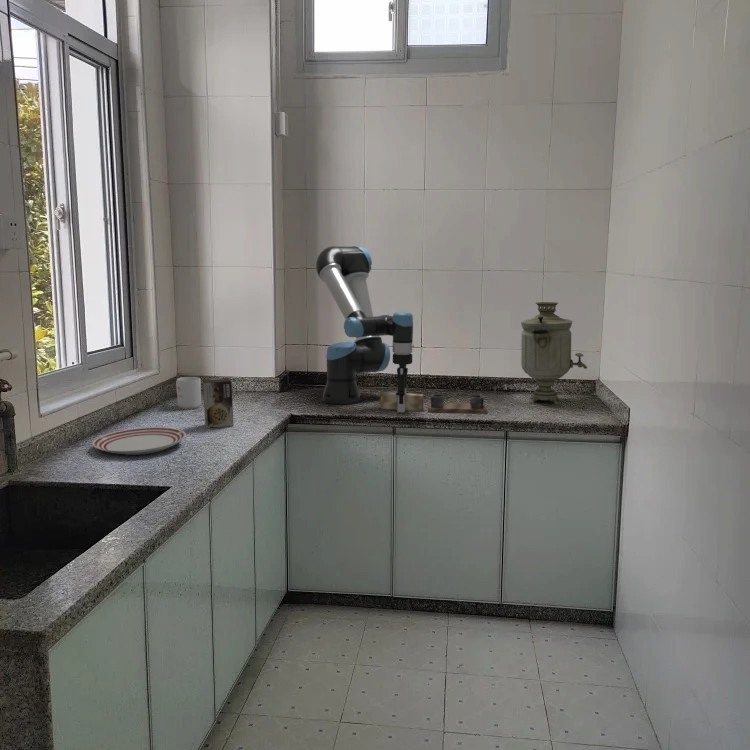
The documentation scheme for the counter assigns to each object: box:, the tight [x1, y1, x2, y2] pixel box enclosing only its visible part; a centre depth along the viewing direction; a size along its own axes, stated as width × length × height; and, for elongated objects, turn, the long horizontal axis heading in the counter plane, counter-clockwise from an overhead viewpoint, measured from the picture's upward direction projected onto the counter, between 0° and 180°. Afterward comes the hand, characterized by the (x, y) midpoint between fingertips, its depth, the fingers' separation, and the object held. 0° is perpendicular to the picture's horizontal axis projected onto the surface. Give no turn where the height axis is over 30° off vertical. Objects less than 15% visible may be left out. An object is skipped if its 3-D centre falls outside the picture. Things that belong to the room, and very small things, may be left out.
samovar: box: [520, 301, 588, 406], centre depth 285 cm, size 30×26×40 cm
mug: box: [175, 376, 202, 410], centre depth 277 cm, size 12×9×11 cm
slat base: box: [427, 393, 488, 415], centre depth 274 cm, size 22×10×6 cm, turn 85°
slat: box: [380, 391, 424, 412], centre depth 276 cm, size 16×4×6 cm, turn 76°
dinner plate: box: [91, 426, 187, 456], centre depth 221 cm, size 28×27×3 cm
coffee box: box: [202, 377, 234, 429], centre depth 247 cm, size 9×6×16 cm
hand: (401, 408), depth 276 cm, fingers open, 12 cm apart
